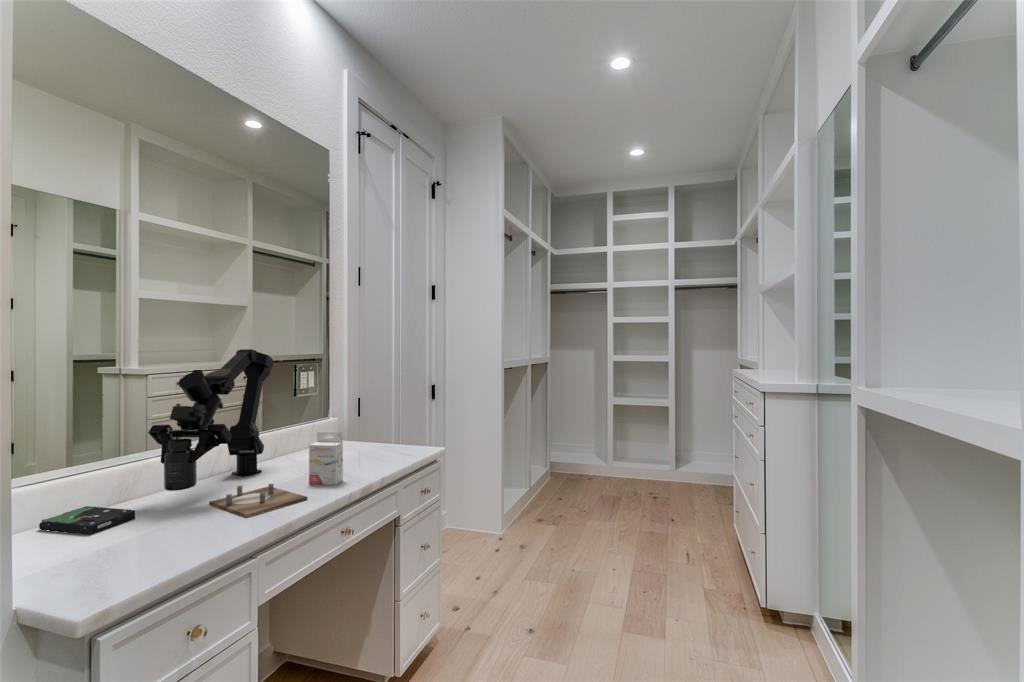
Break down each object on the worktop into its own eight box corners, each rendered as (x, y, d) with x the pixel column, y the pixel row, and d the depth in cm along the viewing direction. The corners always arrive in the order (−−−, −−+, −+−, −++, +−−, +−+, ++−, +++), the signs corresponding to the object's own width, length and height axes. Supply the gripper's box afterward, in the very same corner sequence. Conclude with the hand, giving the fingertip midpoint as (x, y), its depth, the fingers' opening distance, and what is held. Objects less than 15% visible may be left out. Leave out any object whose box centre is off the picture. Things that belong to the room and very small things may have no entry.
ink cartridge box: (308, 484, 144) (307, 434, 144) (316, 479, 149) (316, 431, 149) (336, 485, 143) (335, 434, 143) (343, 480, 148) (343, 431, 148)
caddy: (209, 504, 126) (209, 491, 126) (269, 489, 139) (268, 477, 139) (246, 517, 116) (246, 503, 116) (307, 499, 129) (307, 487, 129)
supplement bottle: (202, 484, 126) (202, 438, 126) (177, 492, 120) (176, 443, 120) (183, 482, 128) (183, 436, 128) (157, 490, 122) (157, 441, 122)
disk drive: (136, 521, 116) (86, 516, 119) (136, 509, 116) (86, 505, 119) (91, 538, 106) (37, 532, 109) (91, 525, 106) (37, 520, 109)
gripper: (153, 393, 128) (120, 445, 117) (225, 393, 128) (200, 444, 117) (173, 419, 136) (144, 469, 125) (241, 418, 136) (219, 468, 125)
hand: (176, 462), depth 123 cm, fingers closed on supplement bottle, 7 cm apart
